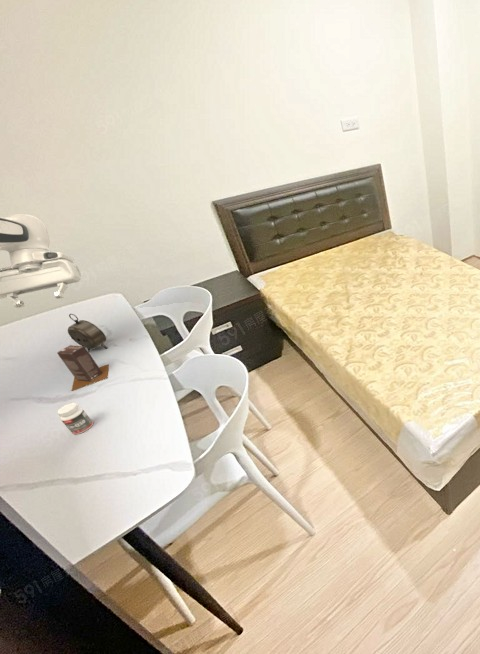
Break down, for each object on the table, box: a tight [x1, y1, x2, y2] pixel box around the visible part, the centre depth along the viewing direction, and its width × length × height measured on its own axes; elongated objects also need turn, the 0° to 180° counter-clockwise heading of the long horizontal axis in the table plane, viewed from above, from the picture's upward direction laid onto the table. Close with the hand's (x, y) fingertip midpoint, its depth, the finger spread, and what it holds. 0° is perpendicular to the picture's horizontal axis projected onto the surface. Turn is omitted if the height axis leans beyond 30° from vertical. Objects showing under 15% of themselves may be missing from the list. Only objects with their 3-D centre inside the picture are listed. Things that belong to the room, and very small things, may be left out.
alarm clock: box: [67, 313, 108, 353], centre depth 146 cm, size 11×5×16 cm, turn 76°
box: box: [56, 344, 102, 381], centre depth 133 cm, size 6×4×12 cm
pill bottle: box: [57, 402, 94, 435], centre depth 115 cm, size 5×5×8 cm
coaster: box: [71, 363, 110, 391], centre depth 136 cm, size 9×9×1 cm
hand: (39, 302), depth 124 cm, fingers open, 8 cm apart
